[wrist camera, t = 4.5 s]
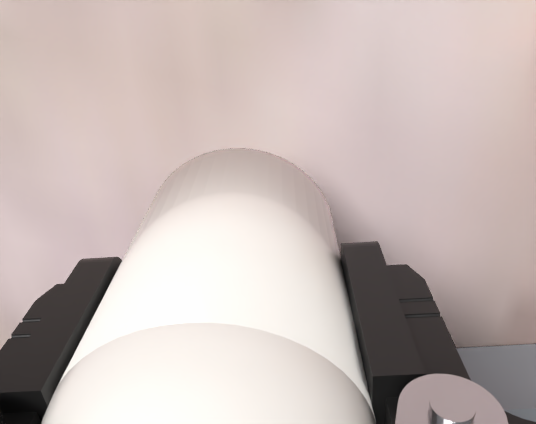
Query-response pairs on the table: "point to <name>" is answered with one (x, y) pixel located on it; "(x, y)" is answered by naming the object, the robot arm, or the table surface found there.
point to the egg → (223, 309)
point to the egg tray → (505, 375)
